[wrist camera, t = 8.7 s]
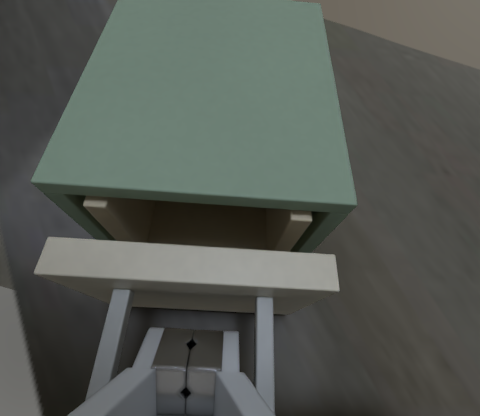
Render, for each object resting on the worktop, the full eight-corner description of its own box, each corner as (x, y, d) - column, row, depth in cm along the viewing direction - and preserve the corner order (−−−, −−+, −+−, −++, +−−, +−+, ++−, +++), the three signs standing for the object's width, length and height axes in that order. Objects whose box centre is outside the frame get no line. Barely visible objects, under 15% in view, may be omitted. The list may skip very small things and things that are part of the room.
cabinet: (294, 270, 16) (358, 204, 9) (119, 260, 16) (28, 181, 8) (286, 119, 22) (320, 2, 14) (157, 109, 21) (125, -18, 14)
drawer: (294, 433, 12) (369, 519, 6) (82, 426, 11) (-64, 510, 6) (282, 146, 19) (310, 58, 13) (154, 136, 19) (125, 41, 13)
